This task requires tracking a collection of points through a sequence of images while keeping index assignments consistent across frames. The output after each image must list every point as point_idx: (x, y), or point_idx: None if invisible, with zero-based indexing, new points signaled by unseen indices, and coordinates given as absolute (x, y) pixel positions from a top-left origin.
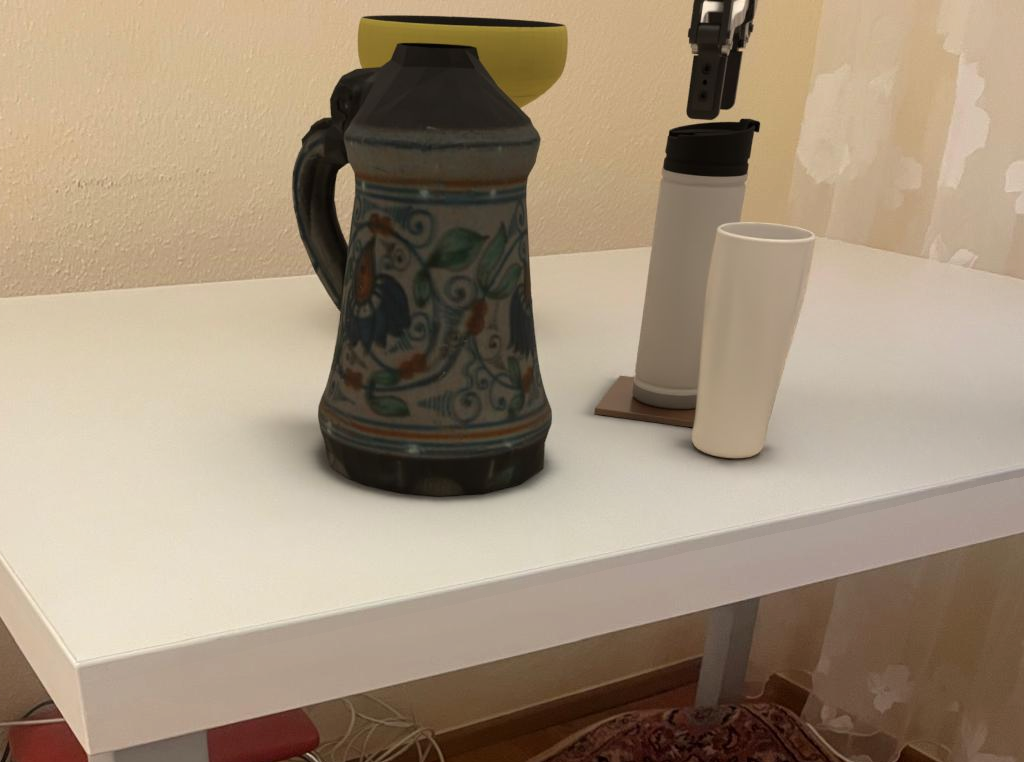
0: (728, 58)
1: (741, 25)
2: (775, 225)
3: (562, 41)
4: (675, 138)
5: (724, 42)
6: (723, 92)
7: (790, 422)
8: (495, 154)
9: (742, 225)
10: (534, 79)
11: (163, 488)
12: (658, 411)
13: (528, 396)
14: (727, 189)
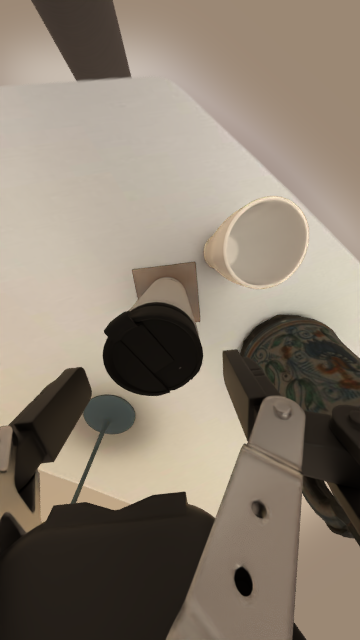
0: (50, 427)
1: (13, 475)
2: (226, 246)
3: None
4: (187, 379)
5: (357, 410)
6: (76, 390)
7: (159, 231)
8: None
9: (235, 274)
10: None
11: None
12: (190, 295)
13: (317, 329)
14: (184, 308)
